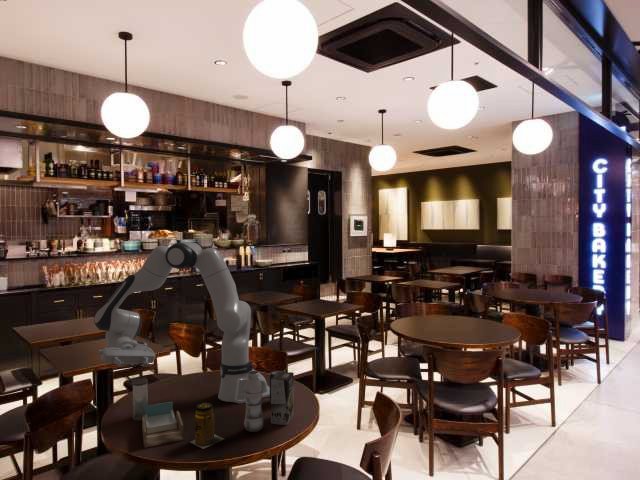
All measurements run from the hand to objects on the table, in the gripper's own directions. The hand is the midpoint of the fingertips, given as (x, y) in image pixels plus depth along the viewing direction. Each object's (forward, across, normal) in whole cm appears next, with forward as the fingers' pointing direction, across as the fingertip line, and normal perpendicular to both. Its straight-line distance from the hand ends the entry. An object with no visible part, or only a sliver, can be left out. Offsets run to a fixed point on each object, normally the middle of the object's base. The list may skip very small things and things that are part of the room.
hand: (134, 364), depth 169 cm
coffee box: (+48, +39, -2) cm, 62 cm away
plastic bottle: (+49, +27, 0) cm, 56 cm away
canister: (+14, +2, +14) cm, 20 cm away
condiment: (+46, +11, +4) cm, 48 cm away
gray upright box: (+34, +47, 0) cm, 58 cm away
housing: (+33, +2, +9) cm, 35 cm away
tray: (+27, +4, +10) cm, 29 cm away
